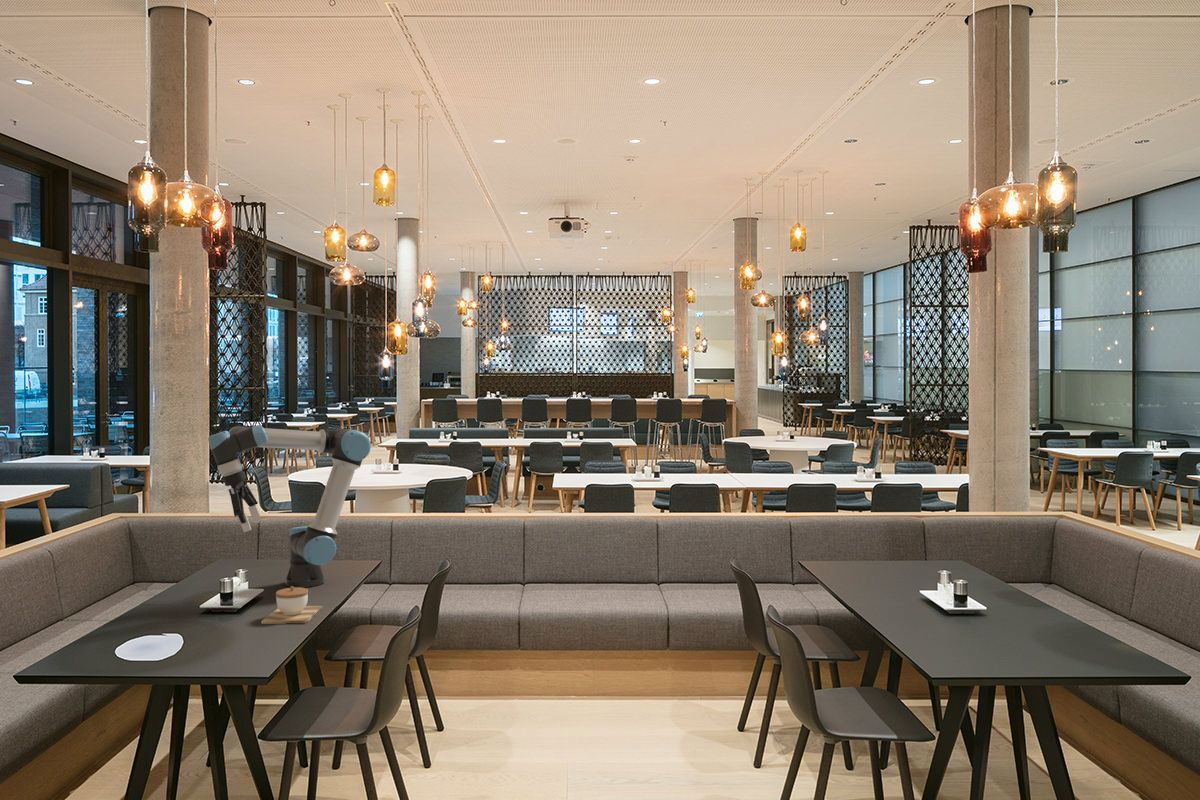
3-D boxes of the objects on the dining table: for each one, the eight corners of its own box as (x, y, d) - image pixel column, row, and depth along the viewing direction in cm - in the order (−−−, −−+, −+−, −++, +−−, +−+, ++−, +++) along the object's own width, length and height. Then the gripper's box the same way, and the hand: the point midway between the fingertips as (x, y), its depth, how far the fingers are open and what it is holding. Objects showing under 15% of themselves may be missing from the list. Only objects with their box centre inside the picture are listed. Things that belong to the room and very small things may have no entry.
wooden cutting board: (280, 608, 314) (280, 606, 314) (322, 608, 314) (322, 605, 314) (261, 623, 296) (261, 620, 296) (305, 623, 296) (305, 620, 296)
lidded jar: (298, 618, 299) (297, 591, 298) (269, 616, 301) (269, 589, 301) (314, 609, 309) (313, 583, 309) (286, 608, 311) (286, 582, 311)
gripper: (232, 470, 331) (252, 522, 334) (211, 482, 306) (233, 538, 309) (251, 463, 332) (271, 515, 334) (232, 475, 307) (253, 531, 310)
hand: (253, 526), depth 322 cm, fingers open, 13 cm apart
